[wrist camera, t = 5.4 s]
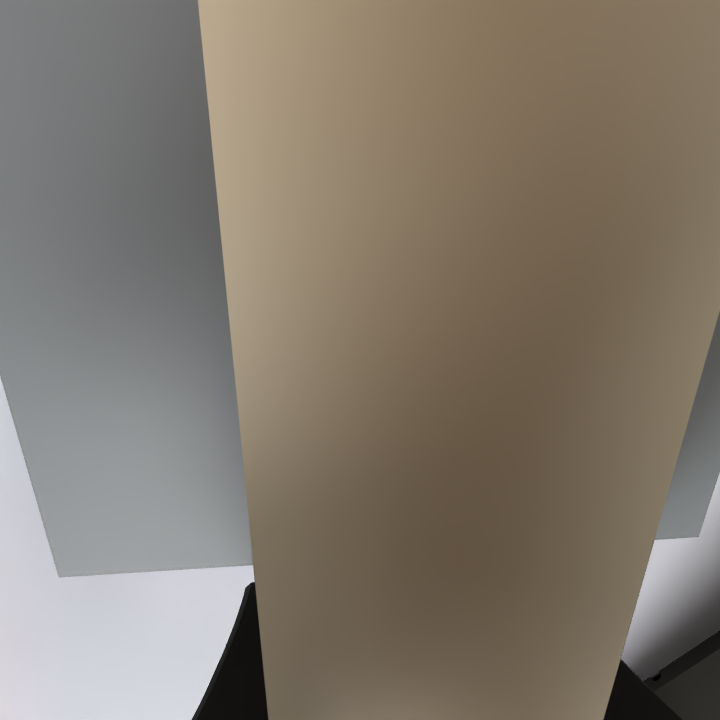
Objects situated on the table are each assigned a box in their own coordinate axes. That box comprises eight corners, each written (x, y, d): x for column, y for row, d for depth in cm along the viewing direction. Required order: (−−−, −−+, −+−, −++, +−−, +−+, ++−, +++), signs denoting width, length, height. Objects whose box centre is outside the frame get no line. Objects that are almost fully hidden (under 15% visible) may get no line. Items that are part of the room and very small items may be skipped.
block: (287, 619, 12) (282, 864, 8) (244, -15, 7) (188, -104, 3) (489, 605, 12) (571, 835, 8) (573, -10, 7) (832, -84, 4)
